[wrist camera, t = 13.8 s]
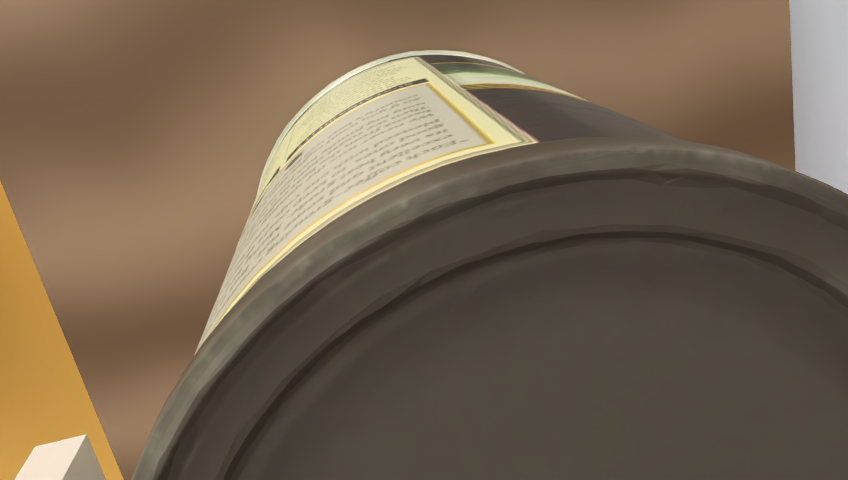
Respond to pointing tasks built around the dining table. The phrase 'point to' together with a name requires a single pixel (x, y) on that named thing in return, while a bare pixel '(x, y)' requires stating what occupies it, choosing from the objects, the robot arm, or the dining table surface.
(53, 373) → the dining table surface
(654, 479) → the coffee can
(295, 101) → the walnut plinth
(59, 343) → the dining table surface
